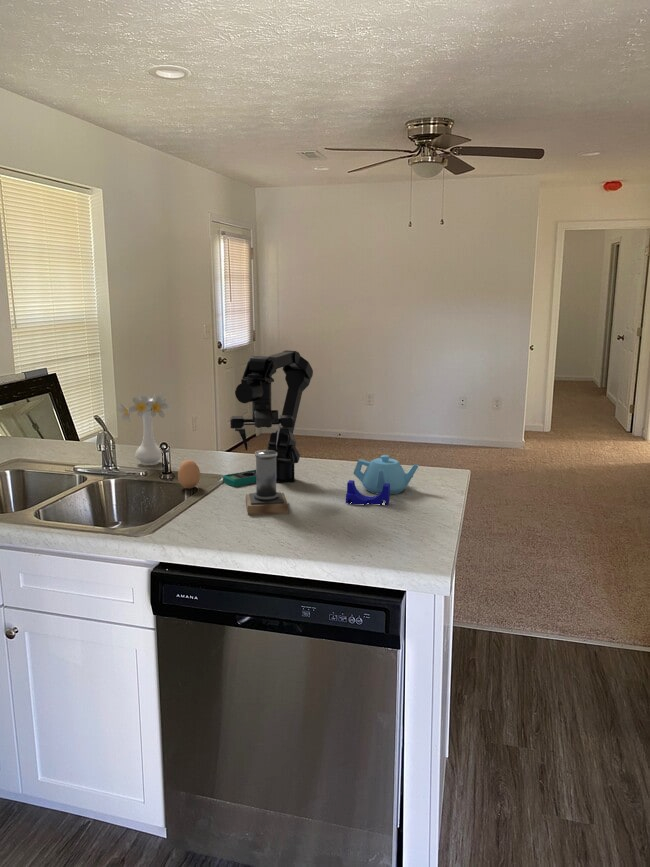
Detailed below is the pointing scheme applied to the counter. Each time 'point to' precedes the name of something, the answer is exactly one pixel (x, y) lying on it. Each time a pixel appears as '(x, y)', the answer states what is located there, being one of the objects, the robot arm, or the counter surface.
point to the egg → (188, 474)
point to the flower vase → (146, 425)
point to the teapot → (383, 474)
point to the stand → (266, 505)
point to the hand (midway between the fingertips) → (262, 449)
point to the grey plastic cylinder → (266, 475)
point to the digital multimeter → (240, 478)
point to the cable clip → (359, 498)
